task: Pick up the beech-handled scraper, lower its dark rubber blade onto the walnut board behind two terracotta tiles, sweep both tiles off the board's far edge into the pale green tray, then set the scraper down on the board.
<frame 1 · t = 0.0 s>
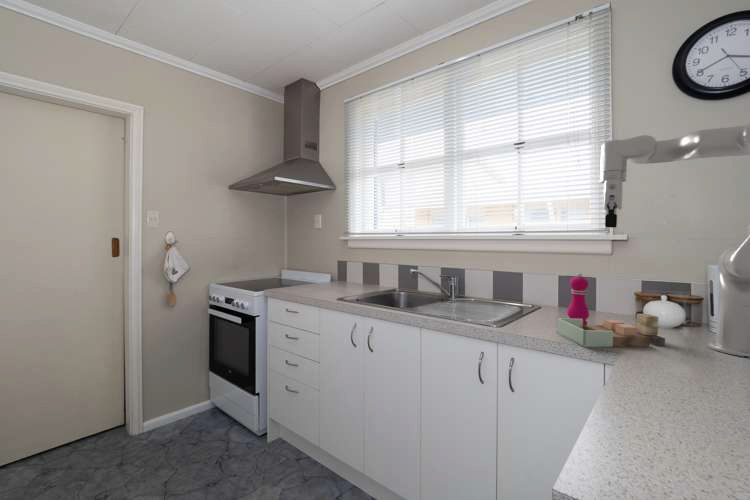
hand: (610, 227, 121), 37 cm above the worktop, tool pointing down, fingers open, 9 cm apart
tile b: (612, 328, 117), point 3 cm above the worktop, touching board
board: (614, 339, 114), on the worktop
tray: (582, 339, 114), on the worktop
tile a: (625, 333, 111), point 3 cm above the worktop, touching board
scraper: (646, 340, 114), on the worktop
pepper mill: (577, 325, 133), on the worktop
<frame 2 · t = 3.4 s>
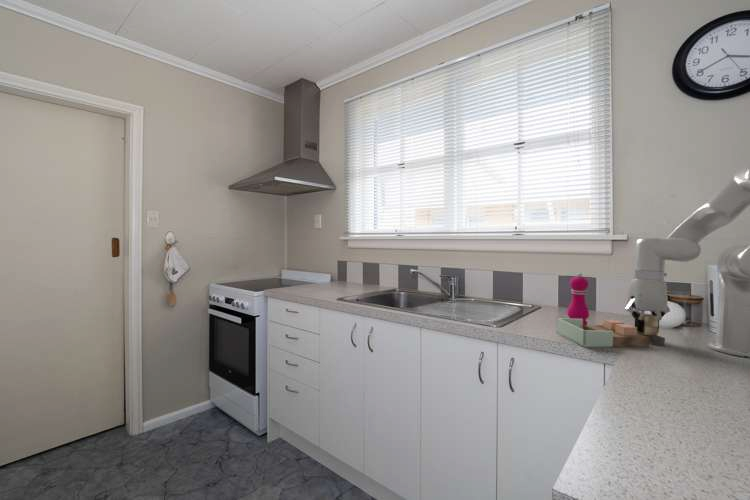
hand: (646, 330, 114), 3 cm above the worktop, tool pointing down, fingers closed on scraper, 4 cm apart
scraper: (646, 340, 114), on the worktop, touching gripper
everything else where it was.
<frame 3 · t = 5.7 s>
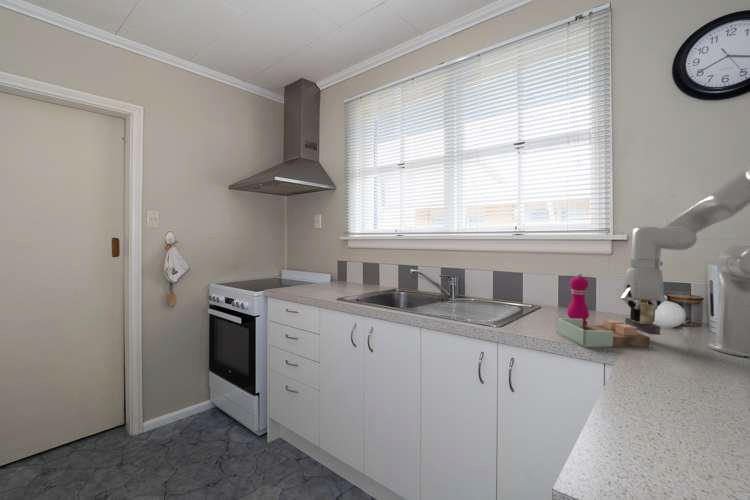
hand: (642, 320, 114), 7 cm above the worktop, tool pointing down, fingers closed on scraper, 4 cm apart
scraper: (641, 329, 114), point 3 cm above the worktop, touching gripper
everything else where it was.
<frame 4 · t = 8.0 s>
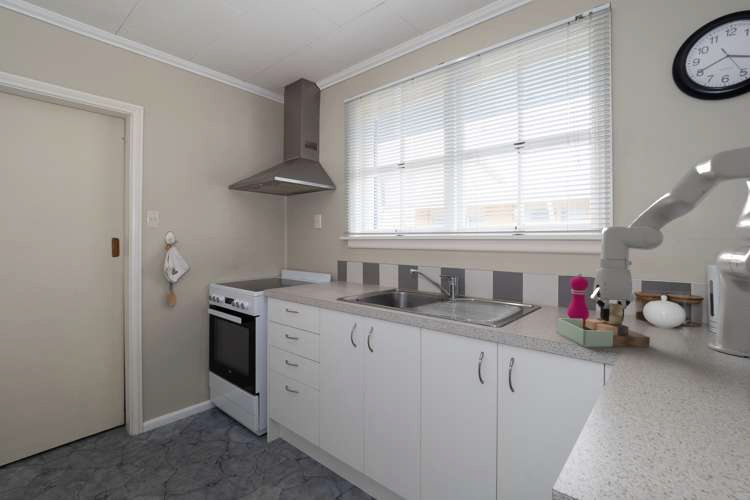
hand: (611, 319, 114), 7 cm above the worktop, tool pointing down, fingers closed on scraper, 4 cm apart
tile b: (594, 328, 117), point 3 cm above the worktop
tile a: (607, 333, 111), point 3 cm above the worktop, touching board
scraper: (611, 329, 114), point 3 cm above the worktop, touching gripper
everything else where it was.
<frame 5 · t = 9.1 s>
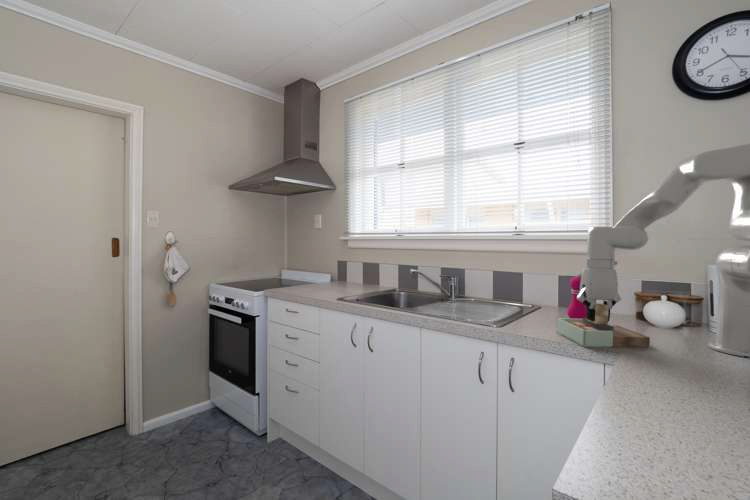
hand: (597, 319, 114), 7 cm above the worktop, tool pointing down, fingers closed on scraper, 4 cm apart
tile b: (582, 329, 117), point 2 cm above the worktop, tilted 90°, touching tray
tile a: (594, 334, 111), point 2 cm above the worktop, tilted 90°, touching tray
scraper: (597, 329, 114), point 3 cm above the worktop, touching gripper
everything else where it was.
when the fingers open (7 cm above the worktop, at t = 11.7 s): scraper stays where it is, resting on board.
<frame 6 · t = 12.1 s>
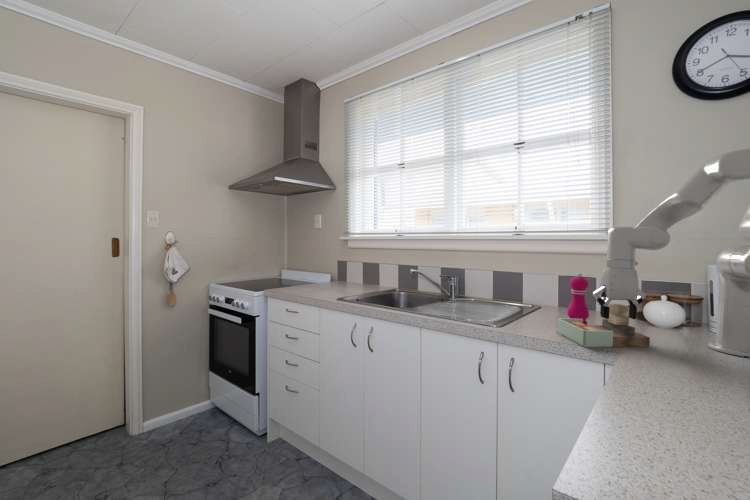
hand: (618, 317, 113), 7 cm above the worktop, tool pointing down, fingers open, 8 cm apart
scraper: (617, 330, 114), point 3 cm above the worktop, touching board
everything else where it was.
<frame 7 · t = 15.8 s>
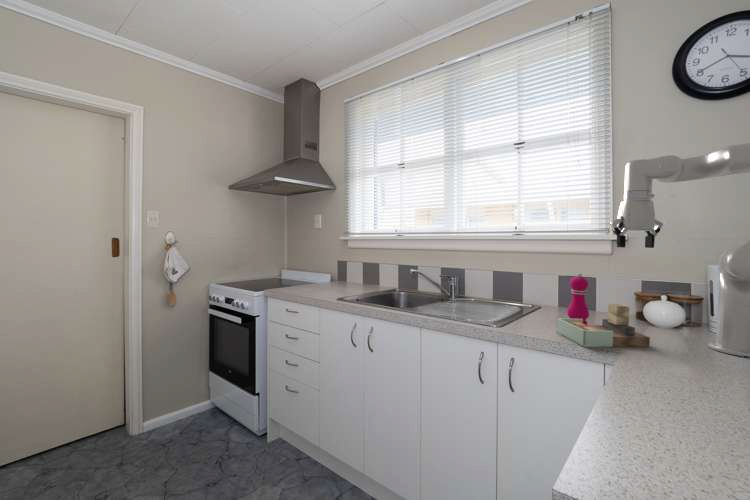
hand: (635, 247, 118), 30 cm above the worktop, tool pointing down, fingers open, 9 cm apart
nothing on the worktop moved.
at the end: tile a inside the target area (3.6 cm from its centre), point 2.5 cm above the worktop; tile b inside the target area (3.5 cm from its centre), point 2.5 cm above the worktop; the gripper is holding nothing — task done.
